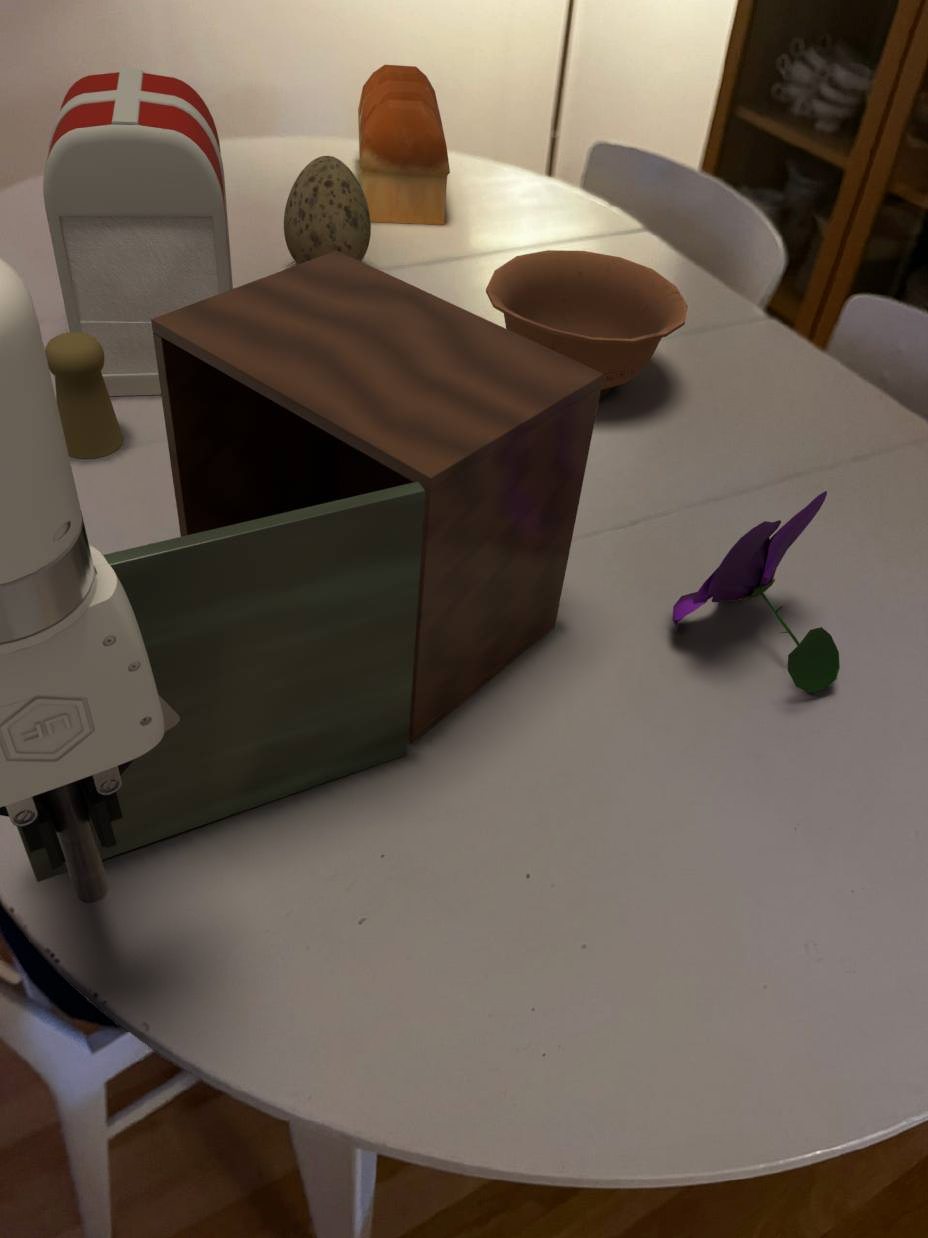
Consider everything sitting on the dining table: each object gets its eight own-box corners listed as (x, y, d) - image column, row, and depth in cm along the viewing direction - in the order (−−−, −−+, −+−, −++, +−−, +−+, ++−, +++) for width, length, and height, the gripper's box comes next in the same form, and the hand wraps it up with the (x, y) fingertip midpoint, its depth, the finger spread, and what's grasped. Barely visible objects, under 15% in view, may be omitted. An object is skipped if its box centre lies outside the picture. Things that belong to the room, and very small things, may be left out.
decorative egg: (353, 302, 127) (354, 178, 117) (272, 285, 129) (266, 162, 118) (380, 268, 135) (384, 150, 125) (304, 253, 136) (301, 135, 126)
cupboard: (411, 745, 76) (430, 478, 59) (186, 581, 87) (150, 318, 71) (555, 627, 86) (604, 373, 70) (338, 494, 98) (337, 249, 81)
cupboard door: (450, 825, 70) (482, 561, 54) (60, 975, 60) (-43, 705, 44) (402, 744, 75) (418, 480, 59) (34, 870, 65) (-67, 593, 49)
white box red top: (79, 397, 106) (24, 122, 88) (90, 318, 119) (44, 63, 101) (240, 392, 110) (220, 126, 91) (235, 315, 122) (216, 68, 104)
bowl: (445, 395, 113) (452, 301, 105) (521, 317, 128) (532, 231, 120) (634, 454, 107) (656, 360, 99) (690, 366, 122) (713, 278, 115)
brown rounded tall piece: (75, 465, 98) (53, 361, 90) (48, 435, 101) (25, 333, 93) (134, 446, 101) (117, 344, 93) (106, 418, 104) (88, 317, 96)
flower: (821, 677, 92) (733, 554, 94) (951, 611, 79) (847, 471, 81) (721, 754, 84) (628, 619, 86) (847, 695, 71) (735, 538, 73)
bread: (446, 225, 147) (453, 116, 137) (359, 222, 146) (360, 111, 136) (435, 163, 165) (440, 63, 155) (357, 159, 164) (358, 58, 154)
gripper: (-226, 692, 35) (-73, 962, 48) (216, 565, 42) (248, 831, 54) (-244, 566, 40) (-100, 842, 52) (157, 469, 46) (199, 735, 59)
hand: (77, 835), depth 53 cm, fingers closed on cupboard door, 2 cm apart
